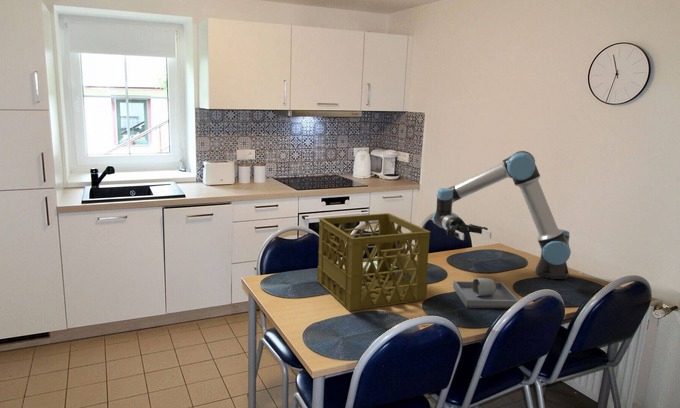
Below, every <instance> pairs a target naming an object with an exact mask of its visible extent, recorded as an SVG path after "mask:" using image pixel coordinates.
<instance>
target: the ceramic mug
mask: <svg viewBox="0 0 680 408" xmlns="http://www.w3.org/2000/svg"><path fill="white" fill-rule="evenodd" d="M472 281H473V282H472V291H473V293H474V295H475V296H489V295H493V294H494V293H495V292H496V283H495V282H496V281H495V280H494V279H493V278H489V277H488V278H482V277H481V278H479V277H476V278H474V279H473V280H472Z"/></svg>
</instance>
